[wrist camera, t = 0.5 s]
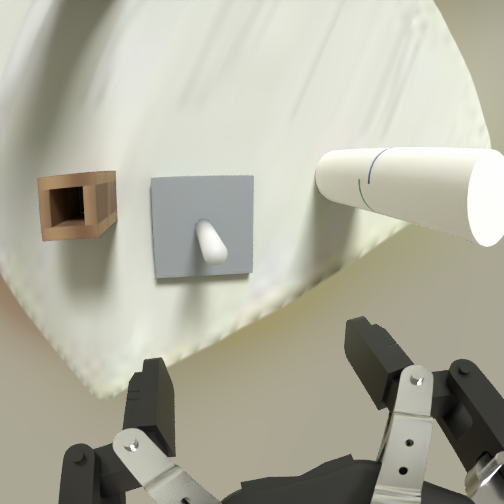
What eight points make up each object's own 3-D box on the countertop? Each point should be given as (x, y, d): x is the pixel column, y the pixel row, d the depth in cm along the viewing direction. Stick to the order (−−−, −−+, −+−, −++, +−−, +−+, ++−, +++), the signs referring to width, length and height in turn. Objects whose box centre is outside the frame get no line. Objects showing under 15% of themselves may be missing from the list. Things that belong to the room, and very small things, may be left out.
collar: (73, 223, 35) (42, 241, 25) (70, 174, 33) (37, 178, 24) (117, 220, 36) (98, 237, 26) (115, 170, 34) (94, 171, 25)
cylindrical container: (364, 157, 41) (518, 165, 18) (355, 206, 43) (504, 251, 19) (319, 144, 39) (474, 135, 16) (311, 197, 41) (458, 240, 17)
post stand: (156, 274, 39) (149, 324, 26) (152, 177, 36) (138, 182, 23) (249, 269, 41) (282, 313, 29) (250, 175, 38) (287, 179, 26)
